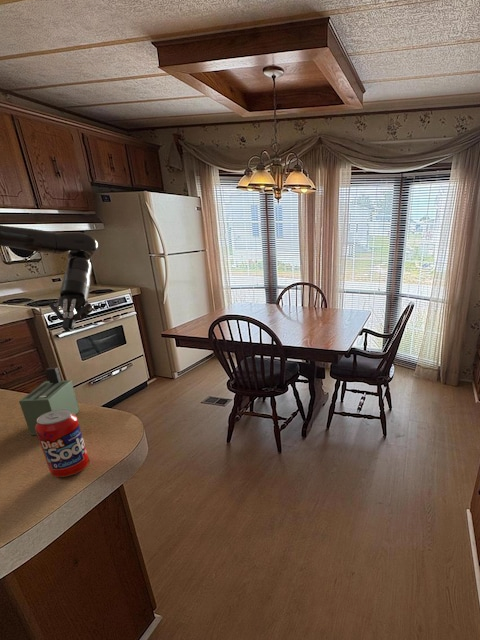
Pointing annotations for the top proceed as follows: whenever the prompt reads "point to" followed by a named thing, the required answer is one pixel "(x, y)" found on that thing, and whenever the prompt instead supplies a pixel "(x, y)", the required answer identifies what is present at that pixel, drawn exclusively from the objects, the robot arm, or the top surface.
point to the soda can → (62, 442)
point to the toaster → (48, 401)
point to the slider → (53, 375)
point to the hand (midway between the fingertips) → (67, 330)
